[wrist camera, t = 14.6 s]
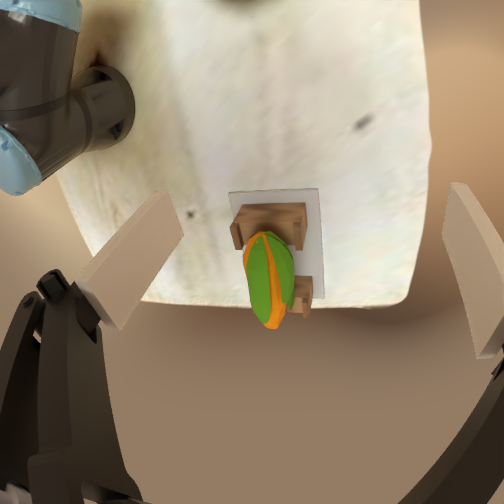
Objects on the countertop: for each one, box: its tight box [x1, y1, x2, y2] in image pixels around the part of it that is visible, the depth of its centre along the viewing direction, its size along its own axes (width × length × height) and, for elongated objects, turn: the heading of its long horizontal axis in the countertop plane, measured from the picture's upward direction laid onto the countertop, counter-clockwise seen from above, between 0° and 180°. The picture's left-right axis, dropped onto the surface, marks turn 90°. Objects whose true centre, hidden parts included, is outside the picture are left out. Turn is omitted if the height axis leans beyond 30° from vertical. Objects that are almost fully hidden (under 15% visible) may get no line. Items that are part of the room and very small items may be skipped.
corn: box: [243, 231, 295, 329], centre depth 45 cm, size 7×8×20 cm
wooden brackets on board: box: [230, 202, 313, 318], centre depth 49 cm, size 10×19×7 cm, turn 11°
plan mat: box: [228, 188, 324, 299], centre depth 52 cm, size 14×23×1 cm, turn 11°
